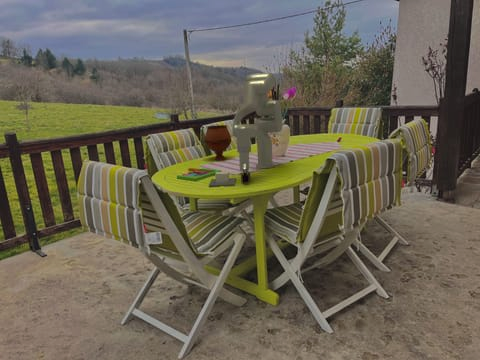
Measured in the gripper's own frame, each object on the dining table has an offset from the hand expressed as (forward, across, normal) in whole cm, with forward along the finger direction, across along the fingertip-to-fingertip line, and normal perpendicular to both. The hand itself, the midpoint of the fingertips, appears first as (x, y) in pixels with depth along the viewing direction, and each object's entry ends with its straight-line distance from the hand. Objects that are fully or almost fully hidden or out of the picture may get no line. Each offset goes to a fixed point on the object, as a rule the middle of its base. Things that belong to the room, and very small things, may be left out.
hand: (245, 179), depth 206 cm
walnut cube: (+1, 0, 0) cm, 1 cm away
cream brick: (0, 0, -13) cm, 13 cm away
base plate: (+1, 0, -13) cm, 13 cm away
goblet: (+1, -70, -21) cm, 73 cm away
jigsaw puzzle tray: (+2, -24, -33) cm, 41 cm away
